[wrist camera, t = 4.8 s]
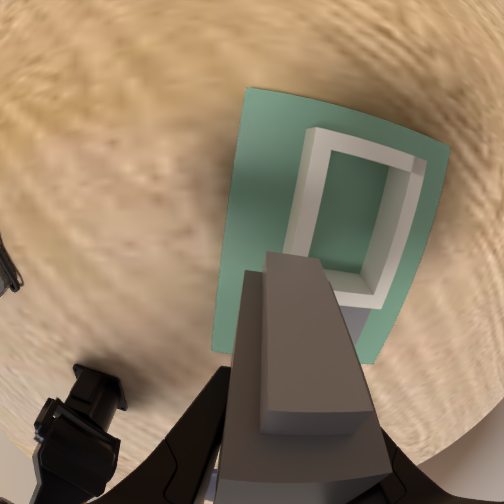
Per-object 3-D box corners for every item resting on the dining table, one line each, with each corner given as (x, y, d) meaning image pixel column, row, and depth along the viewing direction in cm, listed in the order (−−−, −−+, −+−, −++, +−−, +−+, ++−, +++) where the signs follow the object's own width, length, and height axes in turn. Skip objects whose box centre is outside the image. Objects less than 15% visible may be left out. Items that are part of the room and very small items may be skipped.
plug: (288, 396, 12) (295, 529, 6) (227, 389, 12) (210, 525, 6) (335, 261, 9) (416, 452, 3) (248, 248, 9) (222, 462, 3)
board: (368, 353, 25) (382, 386, 20) (213, 339, 24) (206, 376, 20) (439, 145, 17) (475, 151, 13) (246, 91, 16) (243, 76, 12)
